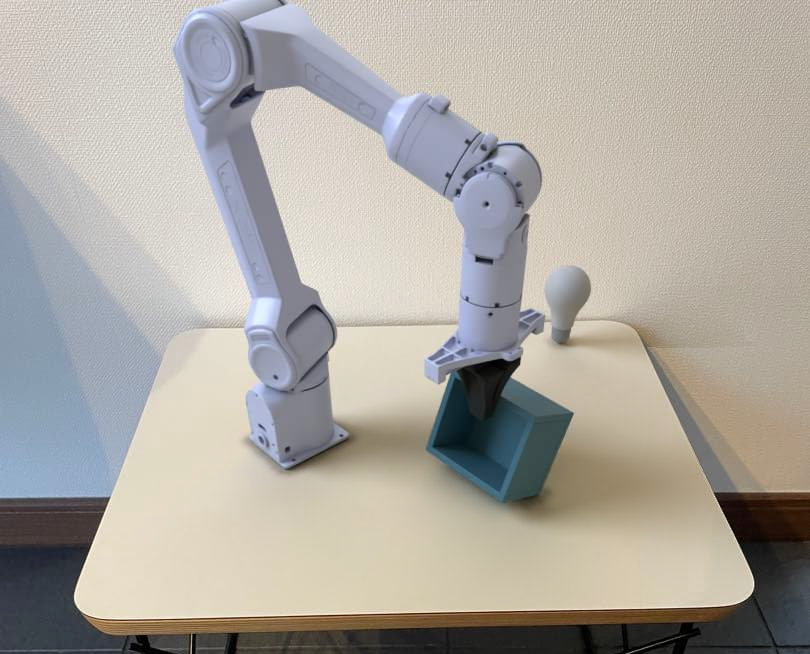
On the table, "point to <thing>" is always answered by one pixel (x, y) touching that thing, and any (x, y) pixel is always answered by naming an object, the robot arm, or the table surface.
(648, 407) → the table surface
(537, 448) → the teal open box
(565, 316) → the lightbulb
